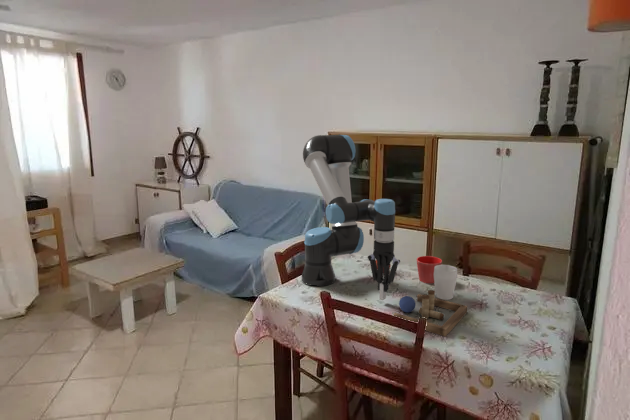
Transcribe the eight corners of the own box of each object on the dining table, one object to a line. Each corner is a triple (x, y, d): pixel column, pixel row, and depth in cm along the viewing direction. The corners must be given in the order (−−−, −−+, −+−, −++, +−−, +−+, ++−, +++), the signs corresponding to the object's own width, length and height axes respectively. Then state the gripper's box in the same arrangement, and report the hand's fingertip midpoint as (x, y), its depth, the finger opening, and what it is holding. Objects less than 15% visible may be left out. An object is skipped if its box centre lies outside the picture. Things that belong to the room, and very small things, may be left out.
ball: (413, 315, 151) (399, 315, 155) (420, 306, 155) (407, 306, 159) (407, 301, 150) (393, 301, 154) (414, 292, 154) (401, 293, 158)
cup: (457, 302, 163) (459, 272, 161) (433, 300, 165) (434, 271, 162) (454, 292, 172) (456, 265, 169) (431, 291, 173) (433, 263, 171)
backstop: (393, 320, 148) (393, 314, 148) (418, 299, 165) (418, 293, 165) (445, 336, 137) (446, 329, 136) (467, 312, 154) (467, 306, 154)
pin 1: (420, 318, 150) (421, 296, 148) (423, 316, 152) (424, 293, 150) (426, 320, 148) (427, 297, 146) (429, 317, 150) (430, 295, 148)
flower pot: (445, 284, 181) (446, 262, 179) (421, 285, 179) (422, 264, 177) (434, 275, 191) (435, 255, 189) (412, 277, 190) (412, 256, 188)
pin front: (418, 308, 152) (441, 315, 147) (421, 306, 154) (444, 312, 149) (418, 314, 153) (441, 321, 148) (421, 312, 155) (444, 318, 149)
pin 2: (425, 313, 154) (426, 291, 152) (428, 311, 155) (429, 289, 154) (432, 315, 152) (433, 293, 150) (434, 312, 154) (435, 290, 152)
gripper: (364, 239, 158) (363, 297, 163) (395, 245, 151) (393, 306, 156) (373, 235, 164) (372, 291, 169) (404, 240, 157) (402, 299, 161)
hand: (382, 298), depth 162 cm, fingers closed
